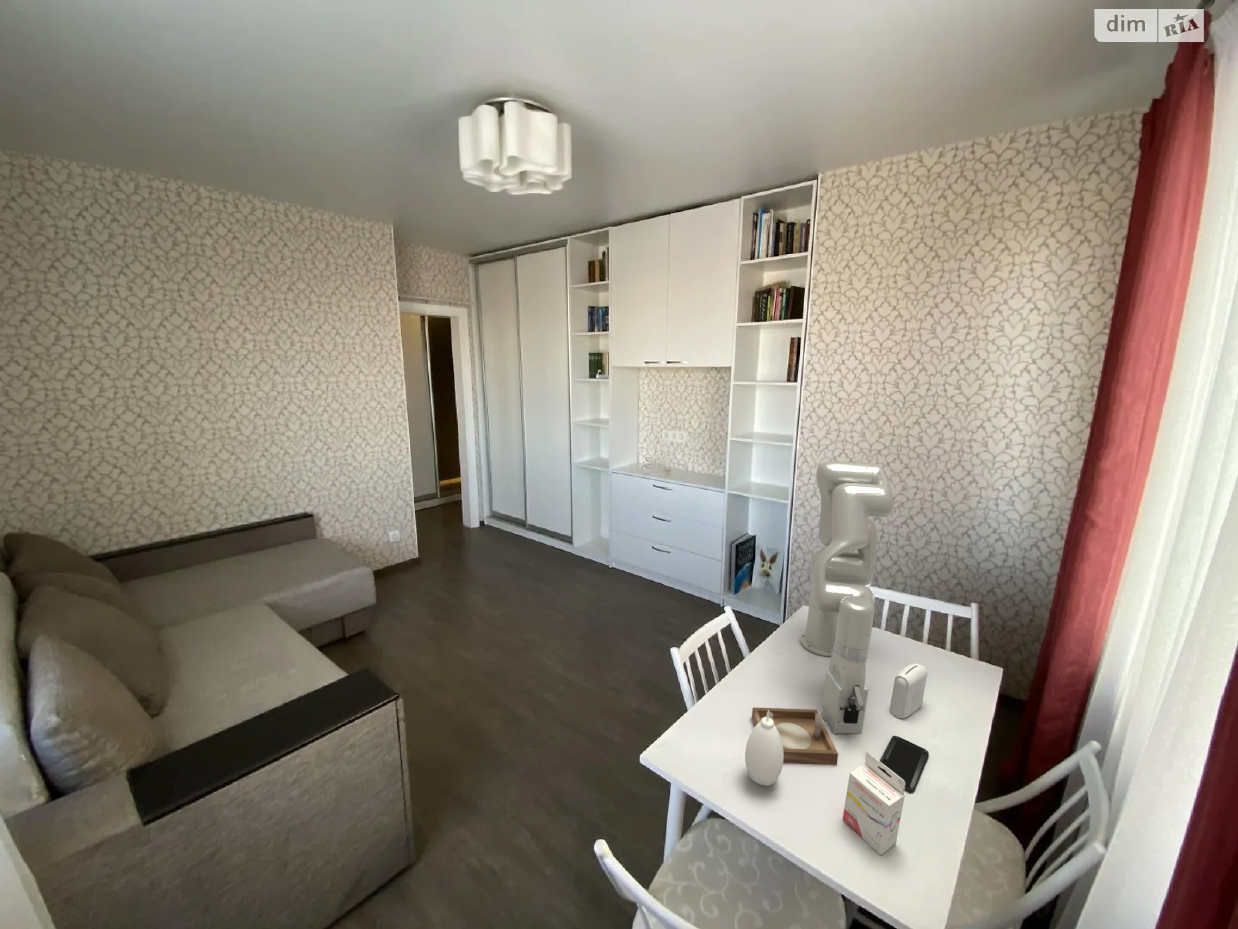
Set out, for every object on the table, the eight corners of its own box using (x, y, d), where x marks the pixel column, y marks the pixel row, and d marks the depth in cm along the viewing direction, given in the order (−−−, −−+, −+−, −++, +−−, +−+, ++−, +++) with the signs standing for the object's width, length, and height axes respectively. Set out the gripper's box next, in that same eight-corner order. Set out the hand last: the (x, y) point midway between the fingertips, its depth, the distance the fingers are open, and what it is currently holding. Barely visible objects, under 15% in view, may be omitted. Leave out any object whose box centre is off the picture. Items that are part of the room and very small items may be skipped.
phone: (930, 751, 117) (913, 792, 106) (929, 755, 117) (912, 796, 106) (892, 733, 122) (873, 771, 111) (892, 737, 122) (872, 775, 112)
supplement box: (833, 735, 123) (839, 690, 120) (820, 713, 130) (825, 670, 127) (862, 734, 123) (869, 689, 120) (848, 712, 130) (854, 670, 127)
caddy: (751, 717, 128) (753, 693, 126) (815, 719, 127) (818, 695, 126) (765, 762, 114) (767, 736, 113) (836, 764, 114) (840, 738, 112)
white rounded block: (907, 697, 136) (914, 656, 133) (924, 706, 133) (931, 665, 130) (886, 711, 130) (893, 670, 128) (903, 722, 127) (910, 679, 124)
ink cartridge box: (841, 820, 101) (849, 758, 97) (856, 809, 103) (865, 749, 100) (881, 857, 93) (892, 792, 90) (897, 844, 96) (908, 781, 92)
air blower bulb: (750, 760, 115) (756, 692, 110) (785, 776, 111) (792, 706, 106) (738, 784, 108) (743, 713, 104) (774, 803, 104) (782, 729, 100)
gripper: (822, 627, 130) (815, 686, 134) (850, 669, 113) (841, 736, 117) (852, 628, 129) (844, 687, 134) (884, 671, 113) (874, 737, 117)
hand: (842, 709), depth 125 cm, fingers open, 8 cm apart
